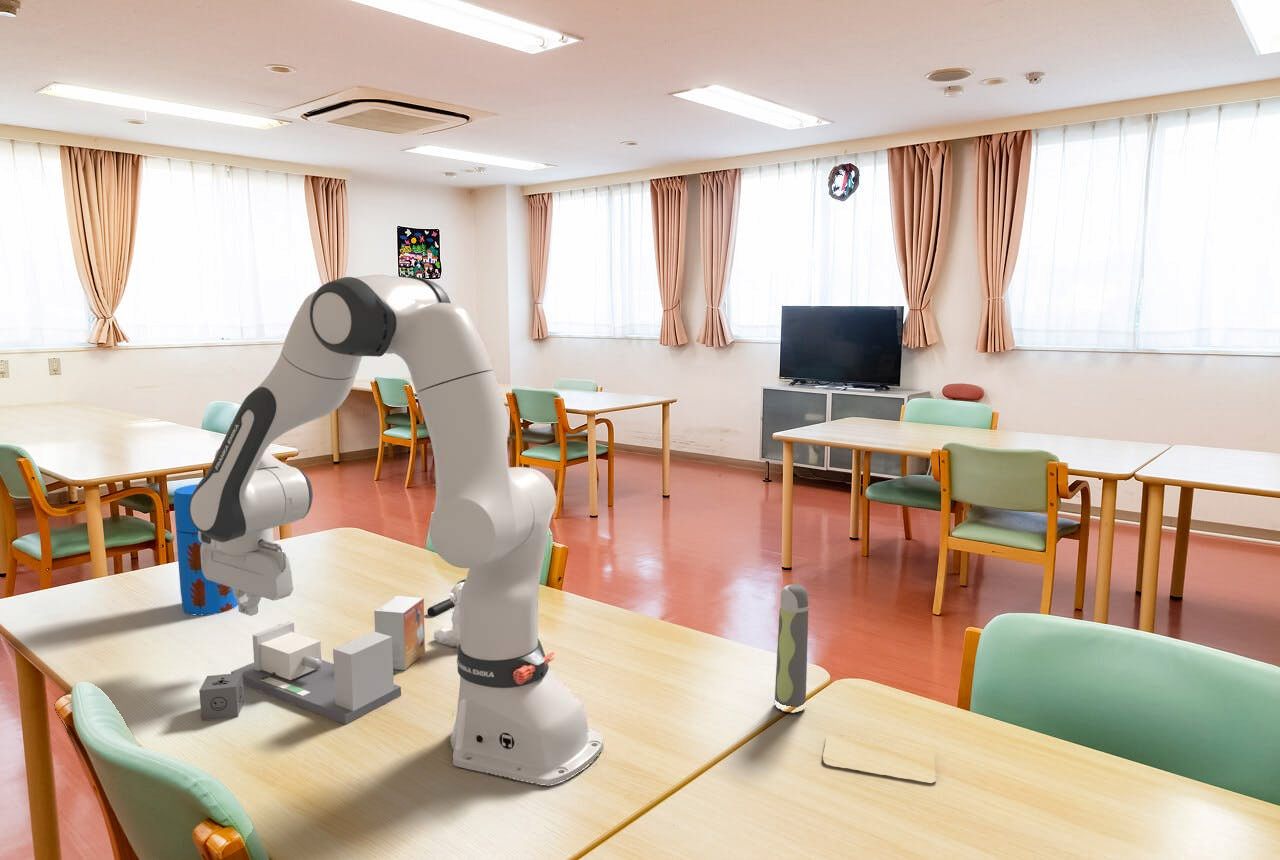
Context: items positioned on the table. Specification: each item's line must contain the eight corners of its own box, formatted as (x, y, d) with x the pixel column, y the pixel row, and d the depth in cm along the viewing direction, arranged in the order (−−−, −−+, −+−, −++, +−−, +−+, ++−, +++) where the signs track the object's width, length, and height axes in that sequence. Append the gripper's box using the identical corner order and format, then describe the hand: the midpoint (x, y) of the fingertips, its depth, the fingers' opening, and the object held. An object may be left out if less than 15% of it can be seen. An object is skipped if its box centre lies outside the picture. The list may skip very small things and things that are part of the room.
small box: (405, 671, 141) (403, 613, 139) (375, 668, 142) (373, 610, 140) (426, 652, 148) (424, 597, 147) (397, 649, 149) (396, 594, 148)
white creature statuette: (479, 629, 159) (478, 570, 158) (497, 644, 152) (496, 583, 150) (432, 639, 154) (431, 578, 152) (448, 656, 147) (447, 592, 145)
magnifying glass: (407, 612, 169) (406, 602, 168) (477, 580, 190) (477, 571, 190) (455, 623, 163) (455, 612, 163) (522, 589, 185) (522, 580, 184)
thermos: (251, 603, 171) (244, 487, 168) (201, 619, 162) (192, 496, 159) (221, 593, 177) (214, 480, 173) (171, 608, 168) (162, 489, 164)
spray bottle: (786, 697, 133) (791, 579, 130) (811, 707, 129) (817, 586, 127) (768, 707, 130) (772, 586, 127) (793, 718, 126) (798, 594, 123)
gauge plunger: (244, 673, 135) (241, 638, 134) (291, 654, 142) (289, 621, 141) (289, 690, 129) (287, 654, 128) (336, 669, 136) (334, 635, 135)
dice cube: (201, 721, 123) (199, 690, 122) (209, 706, 128) (207, 675, 127) (237, 717, 124) (235, 686, 124) (244, 702, 129) (242, 672, 128)
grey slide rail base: (231, 680, 136) (227, 620, 135) (289, 656, 146) (286, 600, 144) (345, 724, 122) (342, 658, 121) (401, 695, 132) (399, 633, 130)
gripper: (301, 541, 136) (303, 620, 138) (226, 522, 146) (229, 596, 148) (267, 550, 131) (270, 632, 133) (191, 530, 141) (196, 606, 143)
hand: (248, 613), depth 141 cm, fingers closed
